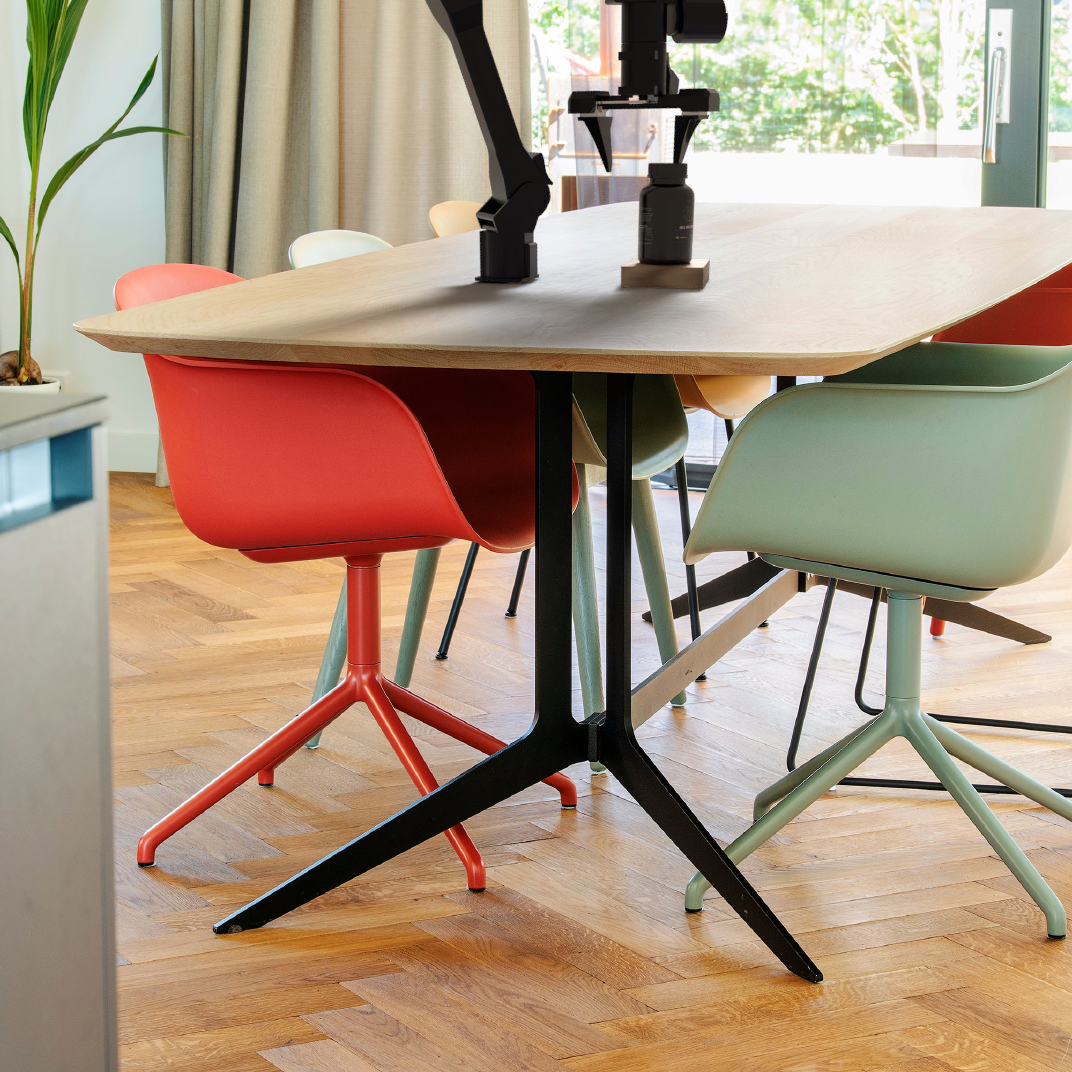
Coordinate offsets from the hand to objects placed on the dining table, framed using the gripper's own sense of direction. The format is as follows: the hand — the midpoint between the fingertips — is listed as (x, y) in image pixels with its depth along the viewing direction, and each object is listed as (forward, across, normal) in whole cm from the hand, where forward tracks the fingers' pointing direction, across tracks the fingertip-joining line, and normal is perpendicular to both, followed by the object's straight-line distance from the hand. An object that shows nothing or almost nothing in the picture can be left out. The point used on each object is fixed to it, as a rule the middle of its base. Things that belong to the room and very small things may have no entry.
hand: (642, 172), depth 168 cm
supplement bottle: (+11, -6, +8) cm, 15 cm away
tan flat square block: (+13, -6, +8) cm, 16 cm away
